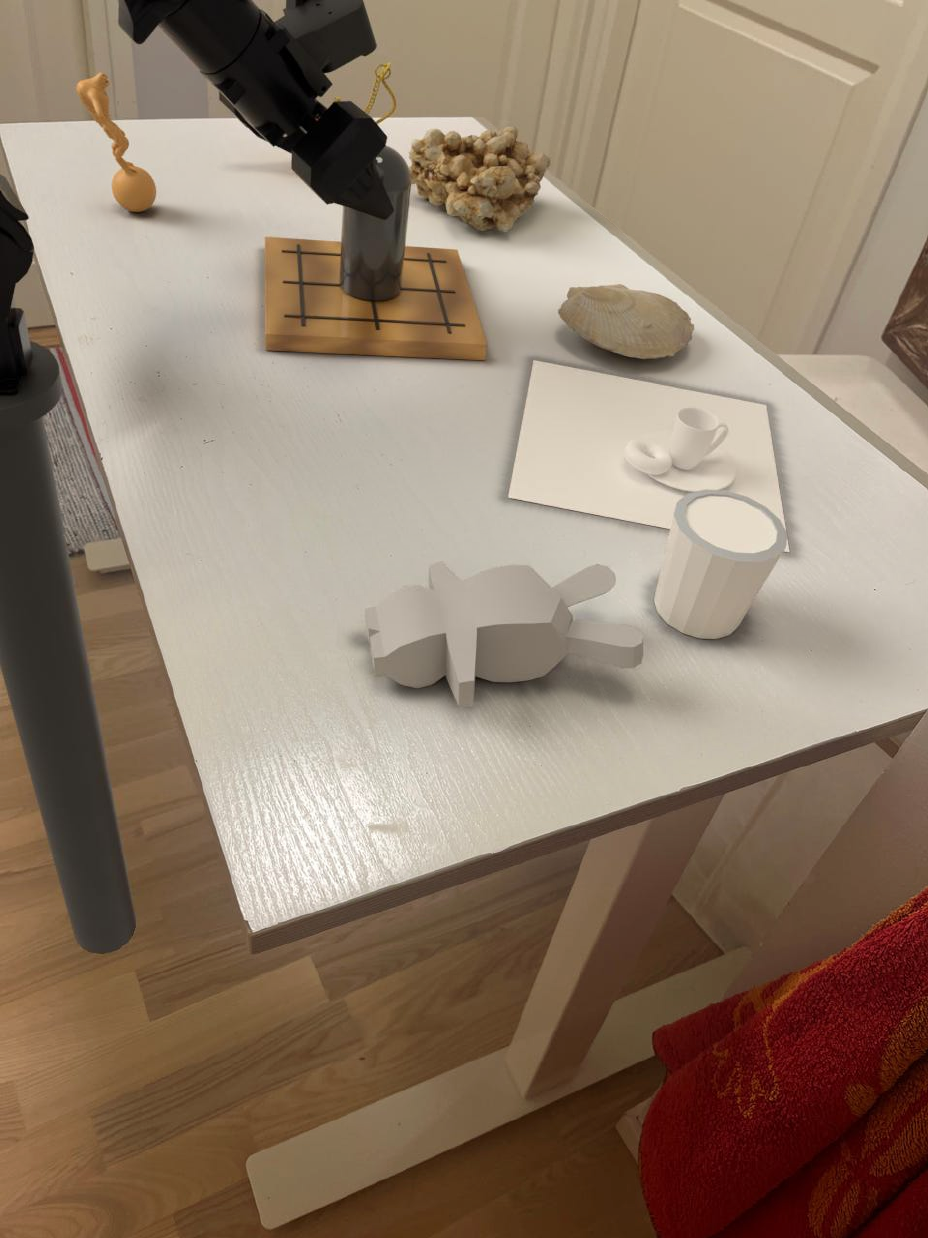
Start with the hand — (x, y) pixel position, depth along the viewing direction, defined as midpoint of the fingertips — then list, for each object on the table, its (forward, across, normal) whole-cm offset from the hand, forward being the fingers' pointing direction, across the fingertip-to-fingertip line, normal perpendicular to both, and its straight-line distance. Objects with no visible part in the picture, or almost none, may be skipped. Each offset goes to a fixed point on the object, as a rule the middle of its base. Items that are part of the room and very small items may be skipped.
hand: (363, 191), depth 80 cm
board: (+8, 0, +6) cm, 10 cm away
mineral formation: (+23, +15, -9) cm, 29 cm away
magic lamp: (+13, +29, +1) cm, 32 cm away
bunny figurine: (-1, -41, +15) cm, 44 cm away
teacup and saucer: (+16, -27, -2) cm, 31 cm away
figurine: (-2, +23, +16) cm, 28 cm away
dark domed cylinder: (+7, 0, +5) cm, 8 cm away
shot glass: (+10, -43, +5) cm, 44 cm away
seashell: (+21, -12, -7) cm, 25 cm away
